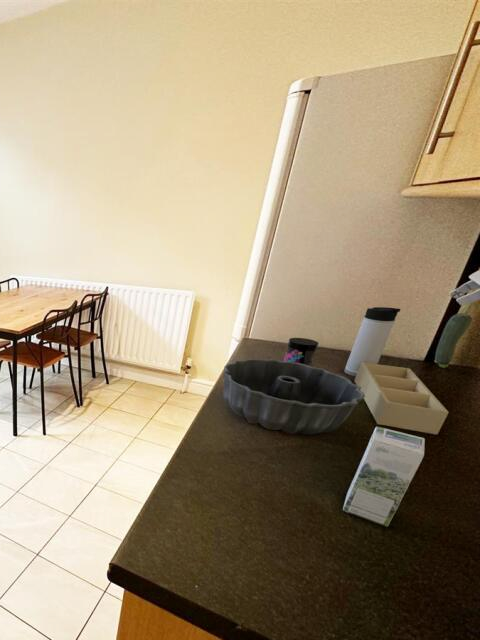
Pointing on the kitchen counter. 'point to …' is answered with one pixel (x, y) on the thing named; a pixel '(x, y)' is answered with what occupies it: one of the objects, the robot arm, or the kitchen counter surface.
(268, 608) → the kitchen counter surface
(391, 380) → the organiser
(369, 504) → the syrup box
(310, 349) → the supplement container
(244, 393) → the bundt pan
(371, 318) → the travel mug
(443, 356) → the vegetable
